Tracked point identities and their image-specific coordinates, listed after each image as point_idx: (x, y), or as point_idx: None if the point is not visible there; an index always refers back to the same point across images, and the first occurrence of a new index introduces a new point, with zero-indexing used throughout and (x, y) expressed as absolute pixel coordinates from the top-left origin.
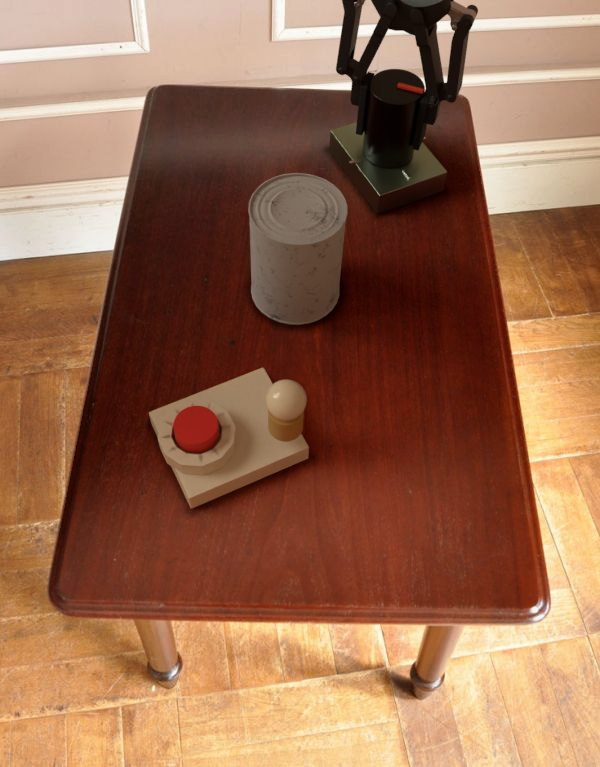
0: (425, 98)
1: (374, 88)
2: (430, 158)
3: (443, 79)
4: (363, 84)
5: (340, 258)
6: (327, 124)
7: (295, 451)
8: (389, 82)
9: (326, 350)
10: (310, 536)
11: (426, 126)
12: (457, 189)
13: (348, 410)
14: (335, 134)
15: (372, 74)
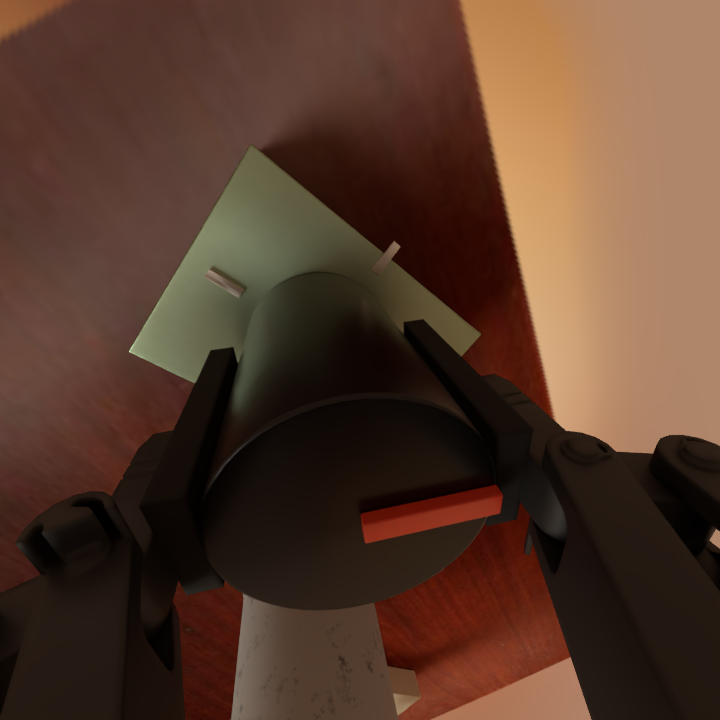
0: (506, 501)
1: (262, 587)
2: (432, 312)
3: (639, 486)
4: (189, 577)
5: (390, 681)
6: (71, 230)
7: (411, 704)
8: (309, 526)
9: (384, 610)
10: (438, 693)
11: (437, 335)
12: (481, 292)
13: (431, 633)
14: (154, 359)
15: (179, 510)
